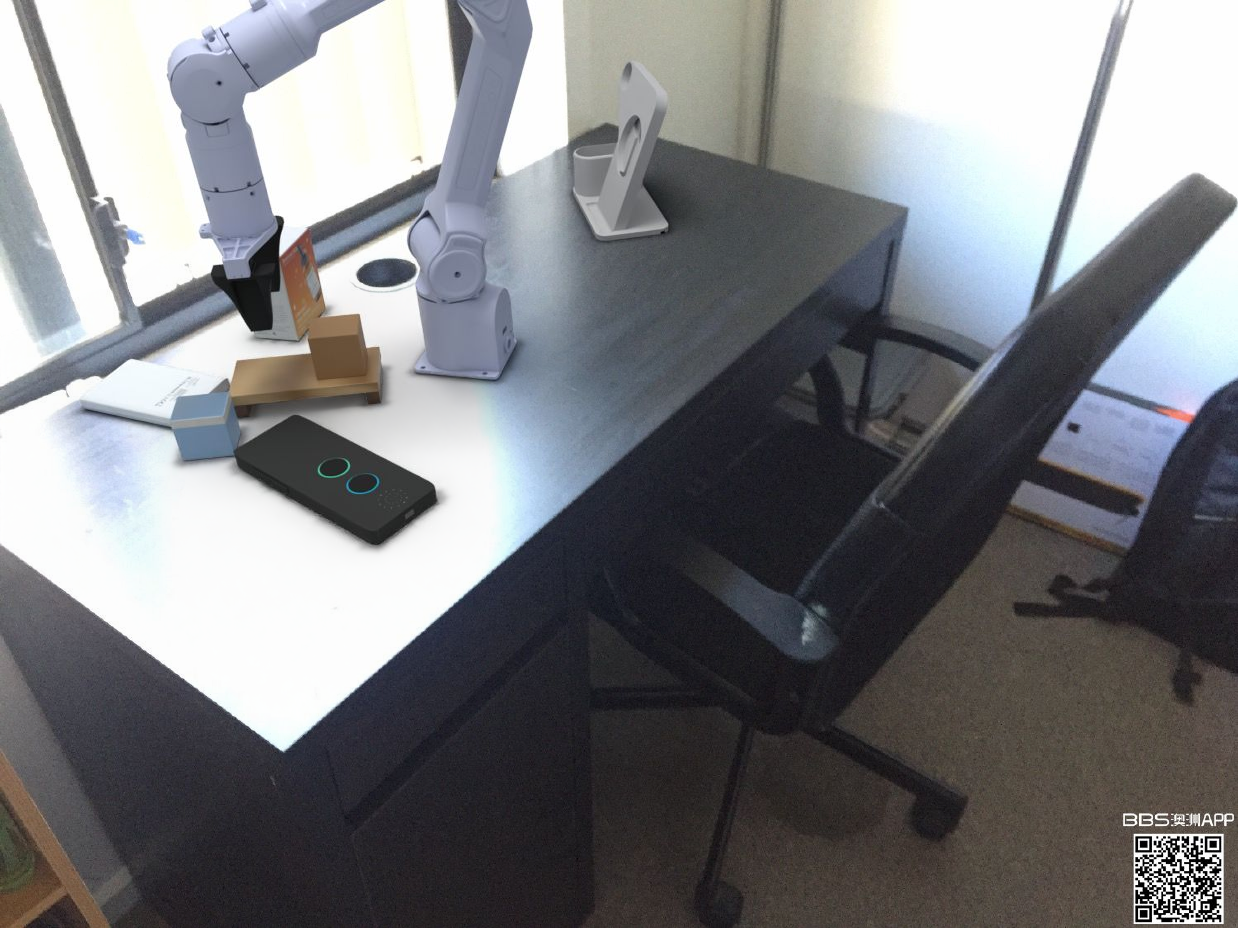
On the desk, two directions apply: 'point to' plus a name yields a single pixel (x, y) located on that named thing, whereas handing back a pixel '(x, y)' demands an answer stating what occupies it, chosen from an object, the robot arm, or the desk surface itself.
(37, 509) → the desk surface
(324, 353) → the brown carton
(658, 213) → the phone holder
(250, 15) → the robot arm
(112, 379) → the hard drive
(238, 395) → the wooden stand
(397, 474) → the smart home device
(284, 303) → the small box
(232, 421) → the blue carton
